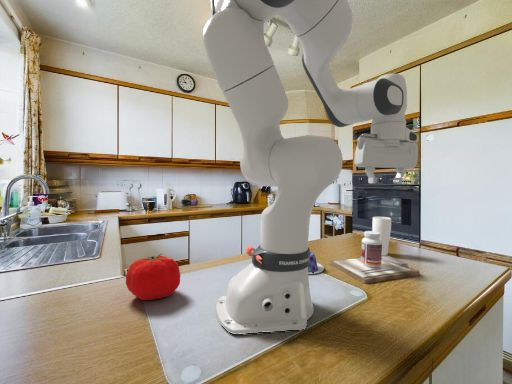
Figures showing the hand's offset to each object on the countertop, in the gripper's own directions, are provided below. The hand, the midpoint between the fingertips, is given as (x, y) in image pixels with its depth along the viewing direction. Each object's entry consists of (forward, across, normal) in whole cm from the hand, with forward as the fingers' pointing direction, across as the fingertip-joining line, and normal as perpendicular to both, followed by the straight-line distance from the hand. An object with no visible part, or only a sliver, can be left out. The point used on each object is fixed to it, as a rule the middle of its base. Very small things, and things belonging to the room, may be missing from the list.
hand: (385, 183), depth 68 cm
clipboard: (+29, +5, +8) cm, 31 cm away
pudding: (+30, -16, +16) cm, 37 cm away
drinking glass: (+29, +21, +20) cm, 41 cm away
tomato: (+29, -63, +10) cm, 70 cm away
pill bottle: (+28, +4, +8) cm, 29 cm away
